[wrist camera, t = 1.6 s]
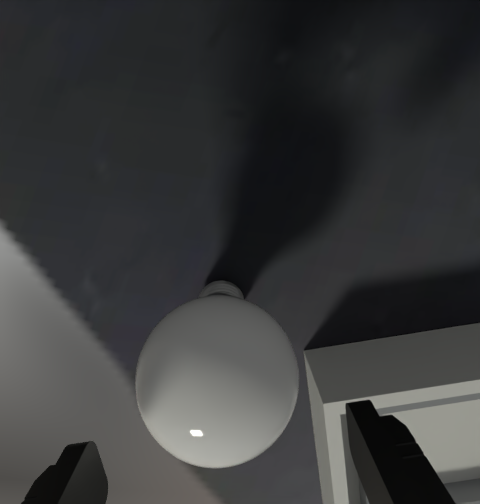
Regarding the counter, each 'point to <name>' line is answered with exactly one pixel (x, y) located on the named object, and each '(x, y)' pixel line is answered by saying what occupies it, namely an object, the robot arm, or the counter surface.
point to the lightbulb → (217, 379)
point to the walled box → (401, 404)
